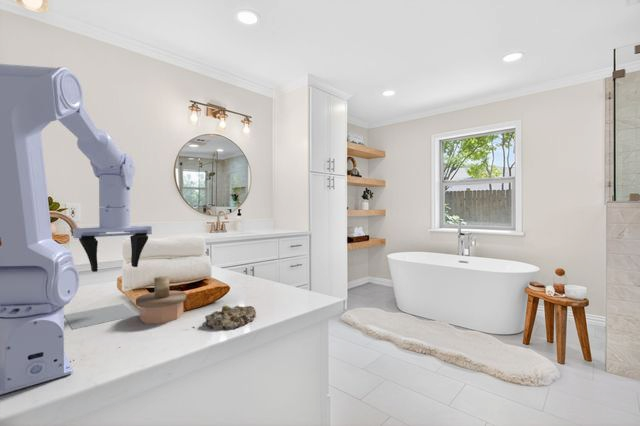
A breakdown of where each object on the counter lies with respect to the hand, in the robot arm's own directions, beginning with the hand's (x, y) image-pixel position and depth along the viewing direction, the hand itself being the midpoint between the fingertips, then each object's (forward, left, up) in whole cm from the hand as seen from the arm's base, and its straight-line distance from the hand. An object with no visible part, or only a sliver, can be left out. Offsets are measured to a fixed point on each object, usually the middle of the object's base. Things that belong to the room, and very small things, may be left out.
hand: (115, 268), depth 70 cm
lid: (-11, -6, -6) cm, 14 cm away
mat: (-1, +3, -10) cm, 10 cm away
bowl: (-11, -6, -10) cm, 16 cm away
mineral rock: (-23, -16, -10) cm, 30 cm away
